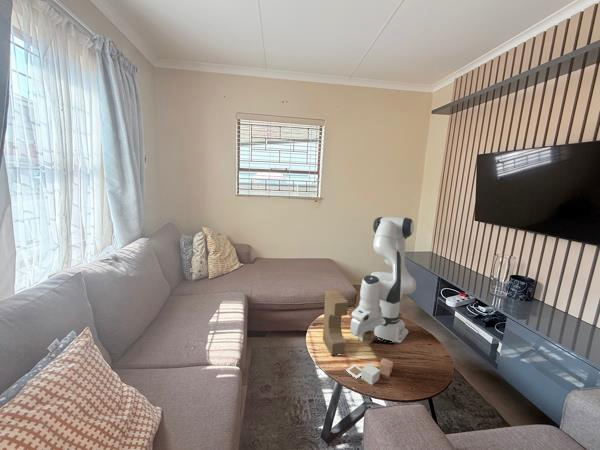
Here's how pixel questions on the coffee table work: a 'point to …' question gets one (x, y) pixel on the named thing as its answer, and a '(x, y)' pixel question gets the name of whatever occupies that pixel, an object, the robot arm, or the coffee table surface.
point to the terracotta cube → (385, 367)
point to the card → (354, 371)
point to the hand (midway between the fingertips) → (365, 337)
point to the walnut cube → (367, 337)
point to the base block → (370, 374)
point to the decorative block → (334, 321)
